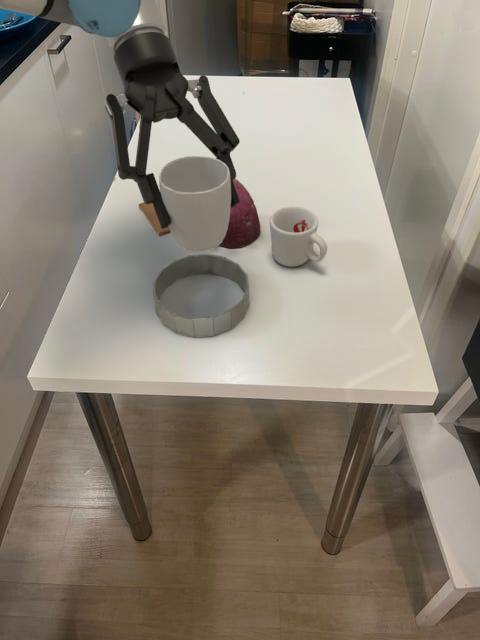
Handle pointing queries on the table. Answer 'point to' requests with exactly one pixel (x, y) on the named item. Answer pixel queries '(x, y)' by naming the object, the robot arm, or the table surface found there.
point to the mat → (153, 218)
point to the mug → (197, 201)
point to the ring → (201, 266)
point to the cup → (295, 236)
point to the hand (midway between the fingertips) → (201, 215)
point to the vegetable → (242, 220)
